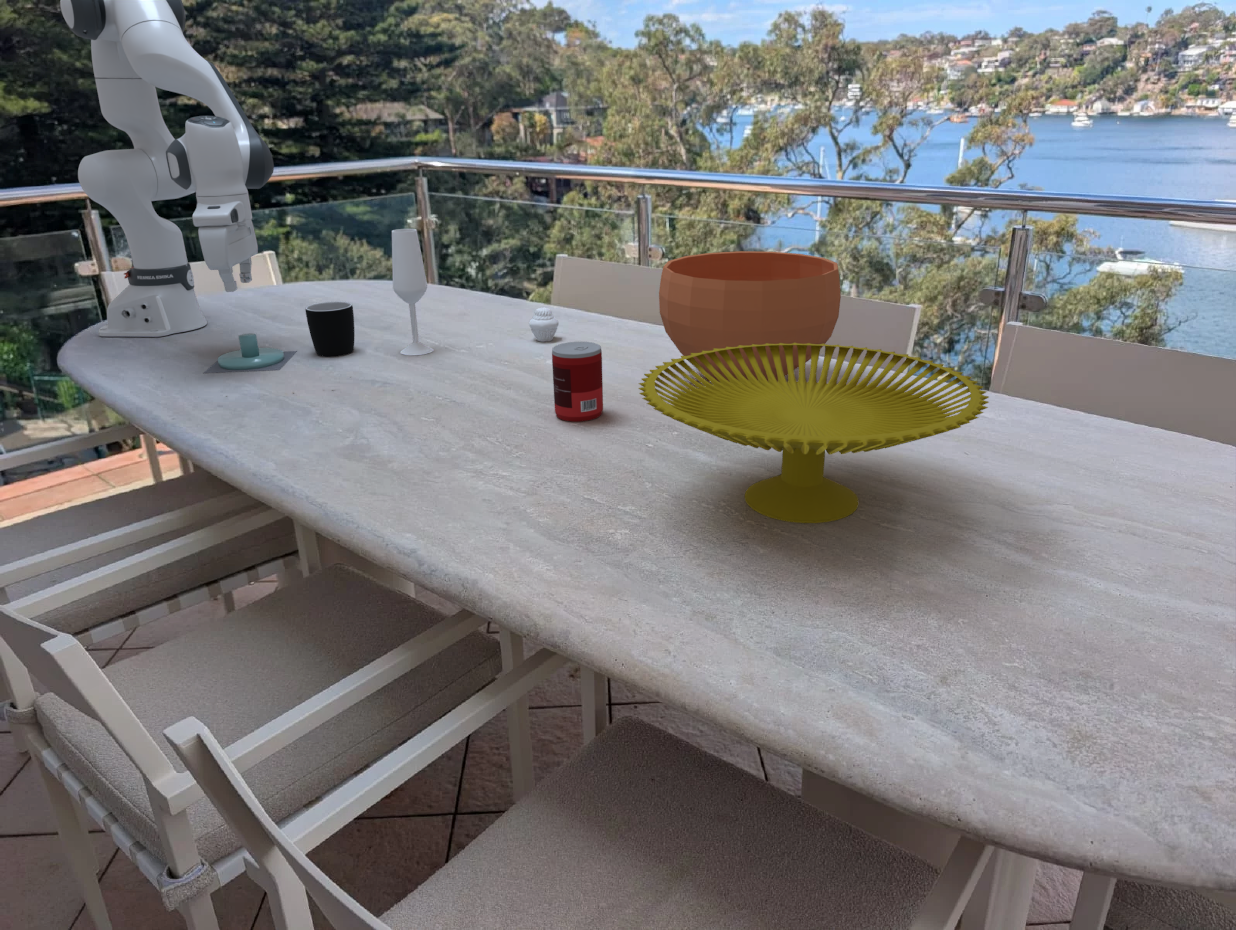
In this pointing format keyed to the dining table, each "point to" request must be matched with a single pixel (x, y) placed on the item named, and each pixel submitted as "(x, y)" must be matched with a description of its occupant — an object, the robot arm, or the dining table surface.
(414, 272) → the champagne flute
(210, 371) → the mat
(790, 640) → the dining table surface
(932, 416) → the cake stand
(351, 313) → the mug
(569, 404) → the canned food
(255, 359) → the lid
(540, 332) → the white ridged rounded piece
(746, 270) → the bowl
